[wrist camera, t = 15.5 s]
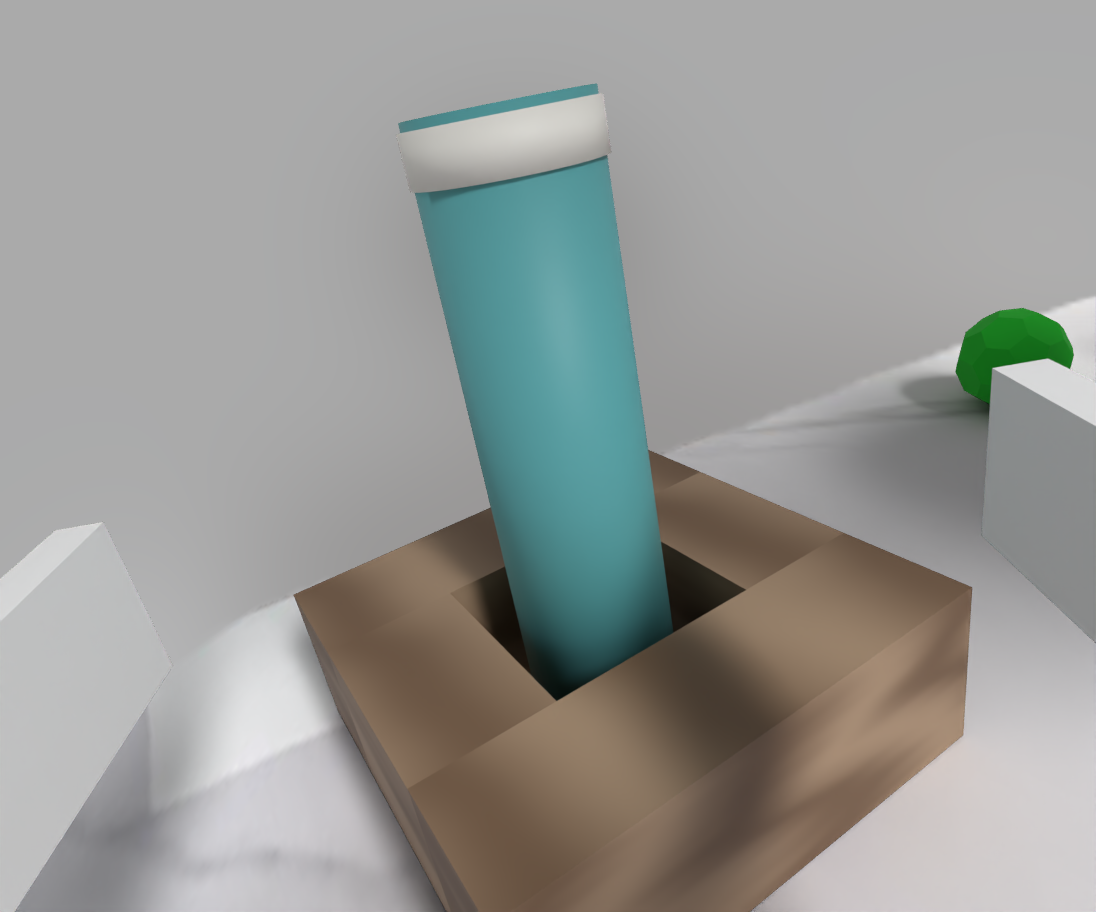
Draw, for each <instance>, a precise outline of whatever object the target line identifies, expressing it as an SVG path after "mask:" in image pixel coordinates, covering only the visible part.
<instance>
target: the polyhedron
mask: <svg viewBox="0 0 1096 912" xmlns="http://www.w3.org/2000/svg"><path fill="white" fill-rule="evenodd" d="M1073 356H1074V354H1073V348H1072V345H1071V343H1070V341H1069V339H1068V337H1067V335H1066V333H1065V331H1064V329H1063V328H1062V327H1061V325H1060V324H1059V323H1057V322H1055V321H1053V320H1051V319H1049V318H1047V317H1045V316H1043V315H1041V314H1039V313H1037V312H1034V311H1030V310H1027V309H1024V308H1019V309H1011V310H1002V311H998V312H995V313H993V314H991V315H989V316H987V317H985V318H983V319H982V320H980V321H979V322H978V323H977V324H976V325H974V326H973V327H972V328H971V329H969V330H968V331H967V332H966V334H965V337H964V340H963V343H962V347H961V351H960V355H959V358H958V362H957V367H956V374H957V376H958V378H959V380H960V382H961V385H962V387H963V389H964V391H966V392H968V393H970V394H971V395H973V396H975V397H977V398H979V399H981V400H982V401H984V402H986V403H988V404H990V397H991V382H992V368H996V367H1002V366H1008V365H1013V364H1019V363H1025V362H1031V361H1037V360H1042V359H1050V360H1052V361H1054V362H1056V363H1058V364H1060V365H1062V366H1064V367H1067V368H1069V369H1070V367H1071V364H1072V360H1073Z"/></svg>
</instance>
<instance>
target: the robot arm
mask: <svg viewBox="0 0 1096 912" xmlns="http://www.w3.org/2000/svg"><path fill="white" fill-rule="evenodd" d="M981 535H982V536H983V537H984V538H985V539H986V540H987V541H988V542H989V543H990V544H991V545H992V546H993V547H994V548H995V549H996V550H998V551H999V552H1000V553H1001V554H1002V555H1003V556H1004V557H1005V558H1006V559H1007V560H1008V561H1009V562H1010V563H1011V564H1012V565H1013V566H1014V567H1016V568H1017V569H1018V570H1019V571H1020V572H1021V573H1022V574H1023V575H1024V576H1025V577H1026V578H1027V579H1028V580H1029V581H1030V582H1031V583H1032V584H1034V585H1035V586H1036V587H1037V588H1038V589H1039V590H1040V591H1041V592H1042V593H1043V594H1044V595H1045V596H1046V597H1047V598H1048V599H1049V600H1050V601H1052V602H1053V603H1054V604H1055V605H1056V606H1057V607H1058V608H1059V609H1060V610H1061V611H1062V612H1063V613H1064V614H1065V615H1066V616H1067V617H1068V618H1070V619H1071V620H1072V621H1073V622H1074V623H1075V624H1076V625H1077V626H1078V627H1079V628H1080V629H1081V630H1082V631H1083V632H1084V633H1085V634H1086V635H1087V636H1089V637H1090V638H1091V639H1092V640H1093V641H1094V642H1095V643H1096V381H1094V380H1091V379H1089V378H1087V377H1085V376H1083V375H1081V374H1079V373H1077V372H1075V371H1073V370H1071V369H1069V368H1067V367H1064V366H1062V365H1060V364H1058V363H1056V362H1054V361H1052V360H1050V359H1042V360H1037V361H1031V362H1025V363H1019V364H1013V365H1008V366H1002V367H996V368H992V382H991V397H990V412H989V427H988V443H987V458H986V473H985V489H984V504H983V519H982V534H981ZM172 667H173V664H172V662H171V660H170V658H169V656H168V654H167V652H166V650H165V648H164V646H163V644H162V642H161V640H160V638H159V635H158V633H157V631H156V629H155V627H154V625H153V623H152V621H151V619H150V617H149V615H148V613H147V611H146V608H145V606H144V604H143V602H142V600H141V598H140V596H139V594H138V592H137V590H136V588H135V586H134V584H133V582H132V579H131V577H130V575H129V573H128V571H127V569H126V567H125V565H124V563H123V561H122V559H121V557H120V555H119V553H118V551H117V548H116V546H115V544H114V542H113V540H112V538H111V536H110V534H109V532H108V530H107V528H106V526H105V524H104V522H100V523H94V524H89V525H83V526H78V527H71V528H65V529H60V530H55V531H54V532H53V533H52V534H51V535H49V536H48V537H47V538H46V539H45V540H44V541H43V542H41V543H40V544H39V545H38V546H37V547H36V548H35V549H34V550H32V551H31V552H30V553H29V554H28V555H27V556H26V557H24V558H23V559H22V560H21V561H20V562H19V563H18V564H17V565H15V566H14V567H13V568H12V569H11V570H10V571H9V572H8V573H6V574H5V575H4V576H3V577H2V578H1V579H0V912H15V911H16V909H17V907H18V906H19V904H20V903H21V901H22V900H23V898H24V897H25V895H26V893H27V892H28V890H29V889H30V887H31V886H32V884H33V883H34V881H35V880H36V878H37V876H38V875H39V873H40V872H41V870H42V869H43V867H44V866H45V864H46V862H47V861H48V859H49V858H50V856H51V855H52V853H53V852H54V850H55V848H56V847H57V845H58V844H59V842H60V841H61V839H62V838H63V836H64V834H65V833H66V831H67V830H68V828H69V827H70V825H71V824H72V822H73V820H74V819H75V817H76V816H77V814H78V813H79V811H80V810H81V808H82V806H83V805H84V803H85V802H86V800H87V799H88V797H89V796H90V794H91V793H92V791H93V789H94V788H95V786H96V785H97V783H98V782H99V780H100V779H101V777H102V775H103V774H104V772H105V771H106V769H107V768H108V766H109V765H110V763H111V761H112V760H113V758H114V757H115V755H116V754H117V752H118V751H119V749H120V747H121V746H122V744H123V743H124V741H125V740H126V738H127V737H128V735H129V733H130V732H131V730H132V729H133V727H134V726H135V724H136V723H137V721H138V719H139V718H140V716H141V715H142V713H143V712H144V710H145V709H146V707H147V705H148V704H149V702H150V701H151V699H152V698H153V696H154V695H155V693H156V692H157V690H158V688H159V687H160V685H161V684H162V682H163V681H164V679H165V678H166V676H167V674H168V673H169V671H170V670H171V668H172Z"/></svg>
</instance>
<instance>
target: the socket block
mask: <svg viewBox="0 0 1096 912" xmlns="http://www.w3.org/2000/svg"><path fill="white" fill-rule="evenodd" d="M648 453H649V460H650V467H651V474H652V481H653V489H654V496H655V503H656V510H657V517H658V525H659V532H660V539H661V546H662V553H663V561H664V568H665V575H666V582H667V589H668V597H669V604H670V611H671V618H672V625H673V632H674V633H672V634H670V635H669V636H667V637H665V638H664V639H662V640H660V641H658V642H657V643H655V644H653V645H652V646H650V647H648V648H647V649H645V650H643V651H641V652H640V653H638V654H636V655H635V656H633V657H631V658H629V659H628V660H626V661H624V662H623V663H621V664H619V665H618V666H616V667H614V668H612V669H611V670H609V671H607V672H606V673H604V674H602V675H601V676H599V677H597V678H595V679H594V680H592V681H590V682H589V683H587V684H585V685H583V686H582V687H580V688H578V689H577V690H575V691H573V692H572V693H570V694H568V695H566V696H565V697H563V698H561V699H560V700H558V701H556V700H555V699H554V698H553V697H552V696H551V695H550V694H549V693H548V692H547V691H546V690H545V689H544V688H543V687H542V686H541V685H540V684H539V683H538V682H537V681H536V680H535V679H534V678H533V677H532V675H531V671H530V667H529V663H528V659H527V655H526V651H525V647H524V642H523V638H522V634H521V630H520V626H519V622H518V618H517V613H516V609H515V605H514V601H513V597H512V593H511V589H510V584H509V580H508V576H507V572H506V568H505V564H504V560H503V555H502V551H501V547H500V543H499V539H498V535H497V531H496V527H495V522H494V518H493V514H492V510H491V508H489V509H486V510H484V511H482V512H480V513H478V514H475V515H473V516H471V517H468V518H466V519H464V520H462V521H459V522H457V523H455V524H452V525H450V526H448V527H446V528H443V529H441V530H439V531H437V532H434V533H432V534H430V535H428V536H425V537H423V538H421V539H419V540H416V541H414V542H412V543H410V544H407V545H405V546H403V547H400V548H398V549H396V550H394V551H391V552H389V553H387V554H385V555H382V556H380V557H378V558H376V559H373V560H371V561H369V562H367V563H364V564H362V565H360V566H358V567H355V568H353V569H351V570H348V571H346V572H344V573H342V574H339V575H337V576H335V577H333V578H330V579H328V580H326V581H324V582H321V583H319V584H317V585H315V586H312V587H310V588H308V589H306V590H303V591H301V592H299V593H296V594H294V597H295V600H296V602H297V605H298V607H299V610H300V613H301V615H302V618H303V621H304V623H305V626H306V628H307V631H308V634H309V636H310V639H311V641H312V644H313V647H314V649H315V652H316V654H317V657H318V660H319V662H320V665H321V667H322V670H323V673H324V675H325V678H326V680H327V683H328V686H329V688H330V691H331V693H332V696H333V699H334V701H335V704H336V706H337V709H338V712H339V713H340V715H341V717H342V719H343V721H344V723H345V724H346V726H347V728H348V730H349V732H350V734H351V736H352V737H353V739H354V741H355V743H356V745H357V747H358V749H359V750H360V752H361V754H362V756H363V758H364V760H365V762H366V763H367V765H368V767H369V769H370V771H371V773H372V775H373V776H374V778H375V780H376V782H377V784H378V786H379V788H380V789H381V791H382V793H383V795H384V797H385V799H386V801H387V802H388V804H389V806H390V808H391V810H392V812H393V813H394V815H395V817H396V819H397V821H398V823H399V825H400V826H401V828H402V830H403V832H404V834H405V836H406V838H407V839H408V841H409V843H410V845H411V847H412V849H413V851H414V852H415V854H416V856H417V858H418V860H419V862H420V864H421V865H422V867H423V869H424V871H425V873H426V875H427V877H428V878H429V880H430V882H431V884H432V886H433V888H434V890H435V891H436V893H437V895H438V897H439V899H440V901H441V902H442V904H443V906H444V908H445V910H446V912H750V911H751V910H752V909H754V908H755V907H756V906H757V905H758V904H760V903H761V902H762V901H763V900H764V899H766V898H767V897H768V896H769V895H771V894H772V893H773V892H774V891H775V890H777V889H778V888H779V887H780V886H781V885H783V884H784V883H785V882H786V881H787V880H789V879H790V878H791V877H792V876H794V875H795V874H796V873H797V872H798V871H800V870H801V869H802V868H803V867H804V866H806V865H807V864H808V863H809V862H810V861H812V860H813V859H814V858H815V857H816V856H818V855H819V854H820V853H821V852H823V851H824V850H825V849H826V848H827V847H829V846H830V845H831V844H832V843H833V842H835V841H836V840H837V839H838V838H839V837H841V836H842V835H843V834H844V833H845V832H847V831H848V830H849V829H850V828H852V827H853V826H854V825H855V824H856V823H858V822H859V821H860V820H861V819H862V818H864V817H865V816H866V815H867V814H868V813H870V812H871V811H872V810H873V809H875V808H876V807H877V806H878V805H879V804H881V803H882V802H883V801H884V800H885V799H887V798H888V797H889V796H890V795H891V794H893V793H894V792H895V791H896V790H897V789H899V788H900V787H901V786H902V785H904V784H905V783H906V782H907V781H908V780H910V779H911V778H912V777H913V776H914V775H916V774H917V773H918V772H919V771H920V770H922V769H923V768H924V767H925V766H926V765H928V764H929V763H930V762H931V761H933V760H934V759H935V758H936V757H937V756H939V755H940V754H941V753H942V752H943V751H945V750H946V749H947V748H948V747H949V746H951V745H952V744H953V743H954V742H955V741H957V740H958V739H959V738H960V737H962V736H963V729H964V713H965V696H966V680H967V663H968V647H969V630H970V614H971V598H972V587H970V586H968V585H965V584H963V583H960V582H958V581H956V580H953V579H951V578H949V577H946V576H944V575H942V574H939V573H937V572H935V571H932V570H930V569H927V568H925V567H923V566H920V565H918V564H916V563H913V562H911V561H909V560H906V559H904V558H902V557H899V556H897V555H894V554H892V553H890V552H887V551H885V550H883V549H880V548H878V547H876V546H873V545H871V544H869V543H866V542H864V541H861V540H859V539H857V538H854V537H852V536H850V535H847V534H845V533H843V532H840V531H838V530H836V529H833V528H831V527H829V526H826V525H824V524H821V523H819V522H817V521H814V520H812V519H810V518H807V517H805V516H803V515H800V514H798V513H796V512H793V511H791V510H788V509H786V508H784V507H781V506H779V505H777V504H774V503H772V502H770V501H767V500H765V499H763V498H760V497H758V496H755V495H753V494H751V493H748V492H746V491H744V490H741V489H739V488H737V487H734V486H732V485H730V484H727V483H725V482H722V481H720V480H718V479H715V478H713V477H711V476H708V475H706V474H704V473H701V472H699V471H697V470H694V469H692V468H690V467H687V466H685V465H682V464H680V463H678V462H675V461H673V460H671V459H668V458H666V457H664V456H661V455H659V454H657V453H654V452H652V451H649V450H648Z"/></svg>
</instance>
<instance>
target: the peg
mask: <svg viewBox="0 0 1096 912" xmlns="http://www.w3.org/2000/svg"><path fill="white" fill-rule="evenodd" d="M398 125H399V129H400V133H399V134H396V136H397V141H398V145H399V149H400V153H401V157H402V161H403V165H404V169H405V173H406V178H407V181H408V186H409V190H410V192H412V193H415V196H416V199H417V204H418V208H419V212H420V216H421V220H422V224H423V229H424V233H425V237H426V241H427V245H428V249H429V253H430V257H431V261H432V266H433V270H434V274H435V278H436V282H437V286H438V291H439V295H440V299H441V303H442V307H443V311H444V315H445V319H446V324H447V328H448V332H449V336H450V340H451V344H452V349H453V353H454V357H455V361H456V365H457V369H458V373H459V377H460V382H461V386H462V390H463V394H464V398H465V402H466V407H467V411H468V415H469V419H470V423H471V427H472V431H473V435H474V440H475V444H476V448H477V452H478V456H479V460H480V464H481V469H482V472H483V477H484V481H485V485H486V489H487V493H488V498H489V502H490V506H491V510H492V514H493V518H494V522H495V527H496V531H497V535H498V539H499V543H500V547H501V551H502V555H503V560H504V564H505V568H506V572H507V576H508V580H509V584H510V589H511V593H512V597H513V601H514V605H515V609H516V613H517V618H518V622H519V626H520V630H521V634H522V638H523V642H524V647H525V651H526V655H527V659H528V663H529V667H530V671H531V675H532V677H533V678H534V679H535V680H536V681H537V682H538V683H539V684H540V685H541V686H542V687H543V688H544V689H545V690H546V691H547V692H548V693H549V694H550V695H551V696H552V697H553V698H554V699H555V700H556V701H558V700H560V699H561V698H563V697H565V696H566V695H568V694H570V693H572V692H573V691H575V690H577V689H578V688H580V687H582V686H583V685H585V684H587V683H589V682H590V681H592V680H594V679H595V678H597V677H599V676H601V675H602V674H604V673H606V672H607V671H609V670H611V669H612V668H614V667H616V666H618V665H619V664H621V663H623V662H624V661H626V660H628V659H629V658H631V657H633V656H635V655H636V654H638V653H640V652H641V651H643V650H645V649H647V648H648V647H650V646H652V645H653V644H655V643H657V642H658V641H660V640H662V639H664V638H665V637H667V636H669V635H670V634H672V633H674V632H673V625H672V618H671V611H670V604H669V597H668V589H667V582H666V575H665V568H664V561H663V553H662V546H661V539H660V532H659V525H658V517H657V510H656V503H655V496H654V489H653V481H652V474H651V467H650V460H649V453H648V446H647V439H646V431H645V425H644V417H643V410H642V403H641V395H640V388H639V381H638V374H637V367H636V359H635V352H634V345H633V338H632V331H631V323H630V316H629V309H628V302H627V294H626V287H625V280H624V273H623V266H622V259H621V252H620V244H619V237H618V230H617V223H616V216H615V208H614V202H613V194H612V187H611V179H610V172H609V165H608V158H607V155H608V154H609V153H611V146H610V139H609V132H608V124H607V117H606V110H605V103H604V95H603V93H598V86H597V84H590V85H584V86H579V87H573V88H568V89H562V90H557V91H552V92H546V93H542V94H536V95H531V96H526V97H521V98H516V99H511V100H506V101H501V102H496V103H491V104H486V105H481V106H476V107H471V108H466V109H461V110H457V111H451V112H447V113H442V114H437V115H432V116H428V117H423V118H418V119H414V120H409V121H405V122H401V123H399V124H398Z"/></svg>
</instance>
